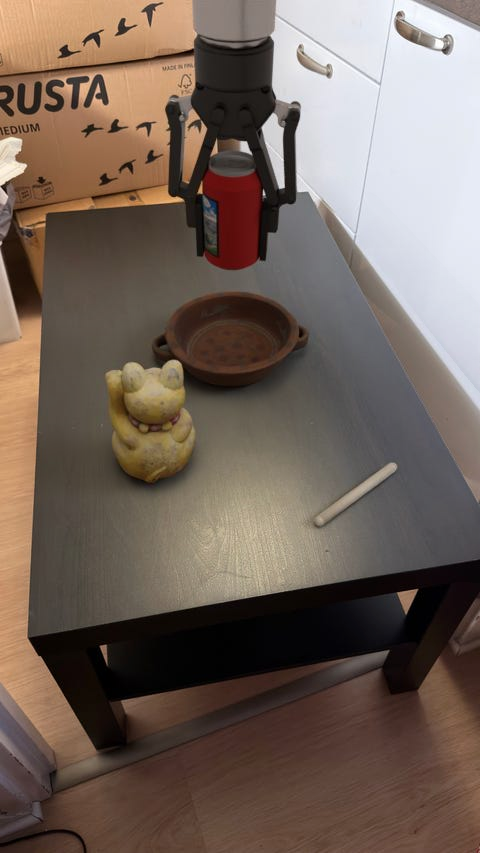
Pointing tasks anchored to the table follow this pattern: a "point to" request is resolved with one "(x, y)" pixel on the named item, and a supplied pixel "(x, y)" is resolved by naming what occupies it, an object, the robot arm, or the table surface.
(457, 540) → the table surface
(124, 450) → the decorative figurine
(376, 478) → the wooden stick
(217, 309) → the dish
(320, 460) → the table surface
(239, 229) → the beverage can
